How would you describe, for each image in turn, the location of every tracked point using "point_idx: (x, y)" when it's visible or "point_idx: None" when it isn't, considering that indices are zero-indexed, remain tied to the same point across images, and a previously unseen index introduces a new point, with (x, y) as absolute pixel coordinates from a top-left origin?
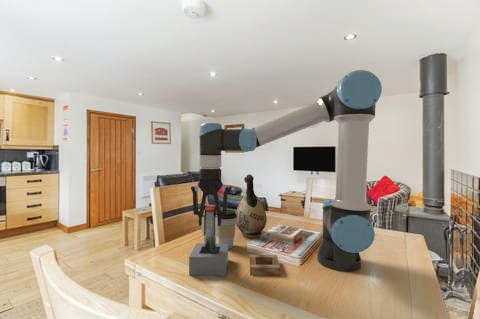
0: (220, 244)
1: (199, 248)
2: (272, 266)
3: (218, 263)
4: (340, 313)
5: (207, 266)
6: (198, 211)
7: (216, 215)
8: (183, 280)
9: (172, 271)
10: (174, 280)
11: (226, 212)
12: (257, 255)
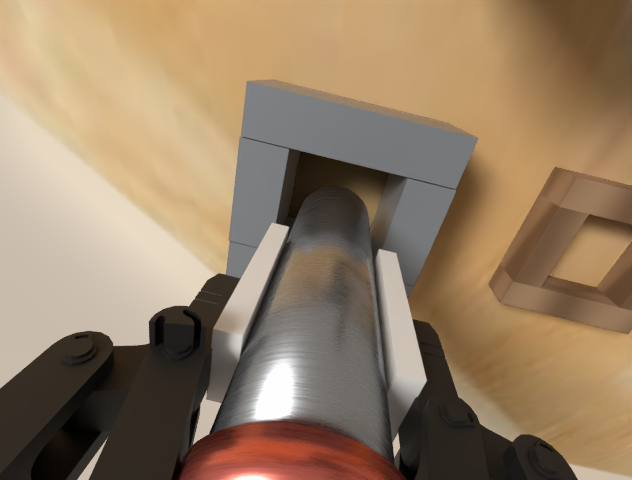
0: (417, 139)
1: (271, 183)
2: (601, 318)
3: None
4: (608, 469)
5: None
6: (117, 413)
7: (398, 381)
8: None
9: (180, 195)
10: (204, 261)
11: (559, 465)
12: (615, 197)
